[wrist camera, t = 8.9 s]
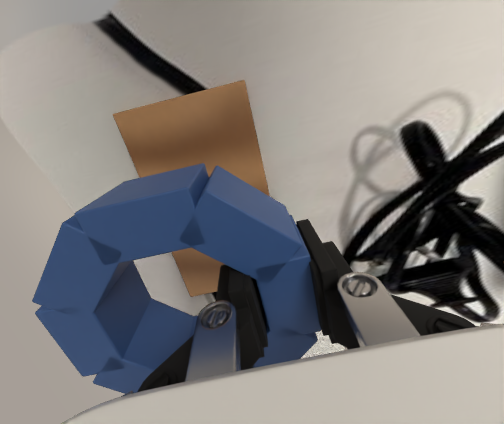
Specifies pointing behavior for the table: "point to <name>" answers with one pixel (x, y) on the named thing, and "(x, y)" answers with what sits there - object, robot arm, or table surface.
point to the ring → (164, 241)
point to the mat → (196, 152)
